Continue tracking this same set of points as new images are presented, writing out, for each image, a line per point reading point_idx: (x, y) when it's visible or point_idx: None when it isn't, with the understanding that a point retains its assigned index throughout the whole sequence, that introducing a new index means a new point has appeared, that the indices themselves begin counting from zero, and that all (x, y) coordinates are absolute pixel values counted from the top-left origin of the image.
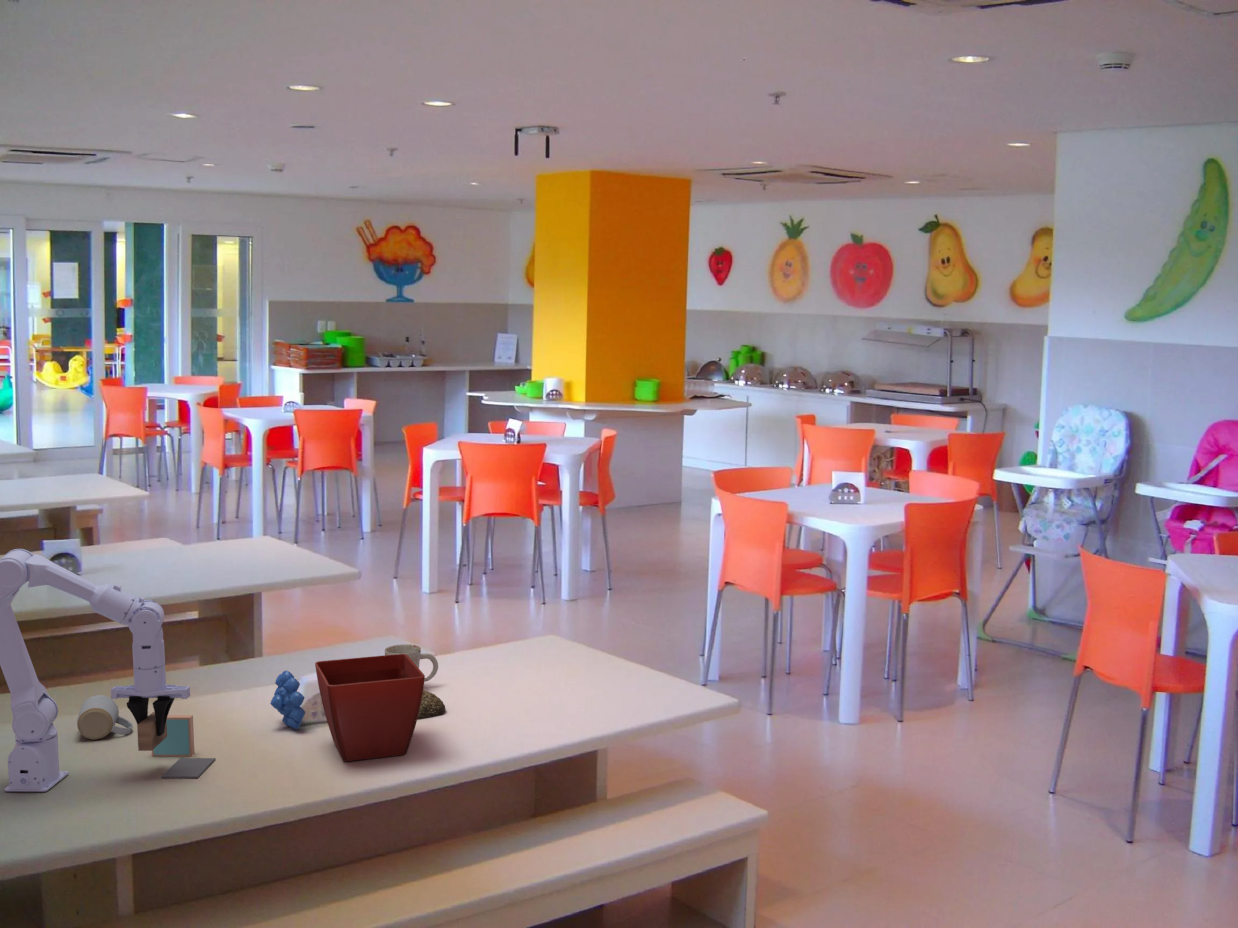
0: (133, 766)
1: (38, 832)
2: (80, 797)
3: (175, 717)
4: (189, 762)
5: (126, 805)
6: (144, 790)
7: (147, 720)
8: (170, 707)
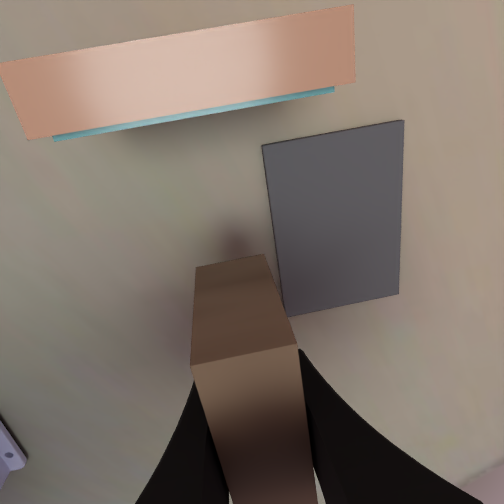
0: (124, 245)
1: None
2: (148, 455)
3: (236, 98)
4: (321, 186)
5: None
6: None
7: (262, 493)
8: (402, 452)
